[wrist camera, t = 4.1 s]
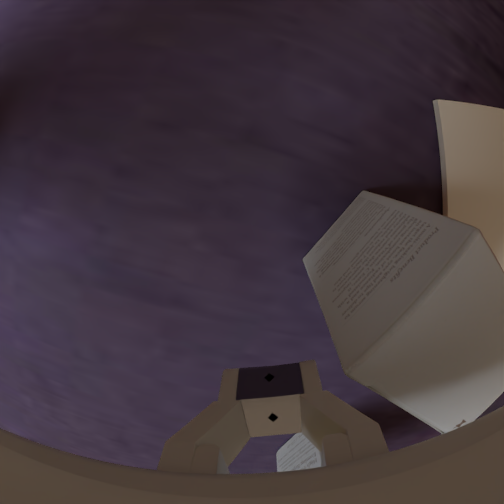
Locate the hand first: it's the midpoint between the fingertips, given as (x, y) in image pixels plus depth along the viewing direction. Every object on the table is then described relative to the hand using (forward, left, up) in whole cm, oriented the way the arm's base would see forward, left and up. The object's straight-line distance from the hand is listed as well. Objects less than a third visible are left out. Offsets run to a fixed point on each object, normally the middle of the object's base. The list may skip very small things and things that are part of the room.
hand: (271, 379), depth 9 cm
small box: (+7, 0, -9) cm, 11 cm away
